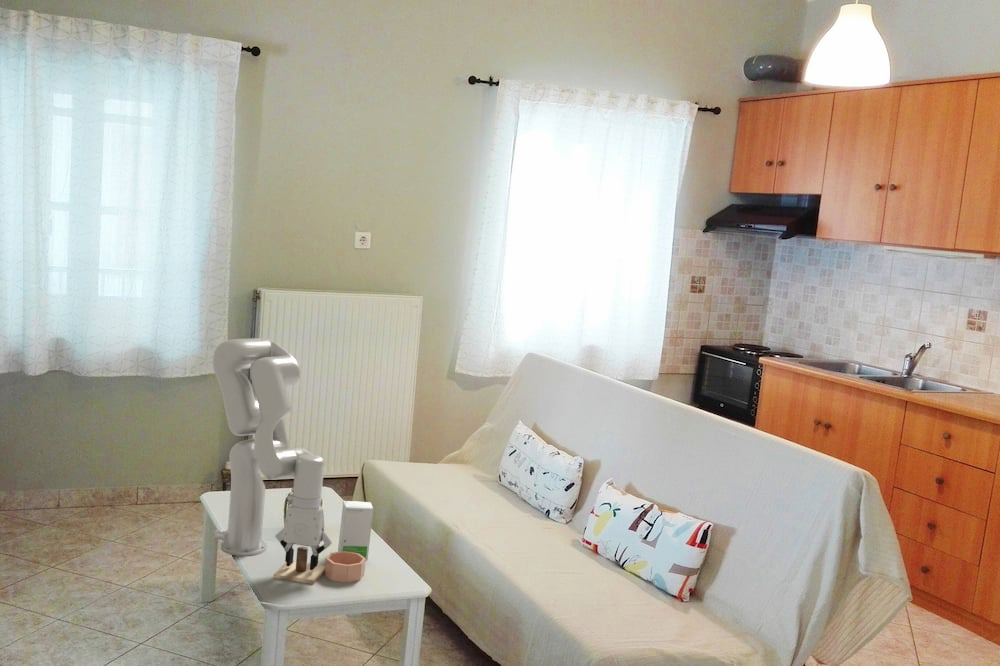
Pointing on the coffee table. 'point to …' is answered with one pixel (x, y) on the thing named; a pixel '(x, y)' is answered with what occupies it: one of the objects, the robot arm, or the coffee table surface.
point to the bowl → (345, 566)
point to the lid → (300, 569)
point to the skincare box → (355, 527)
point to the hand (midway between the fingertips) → (301, 565)
